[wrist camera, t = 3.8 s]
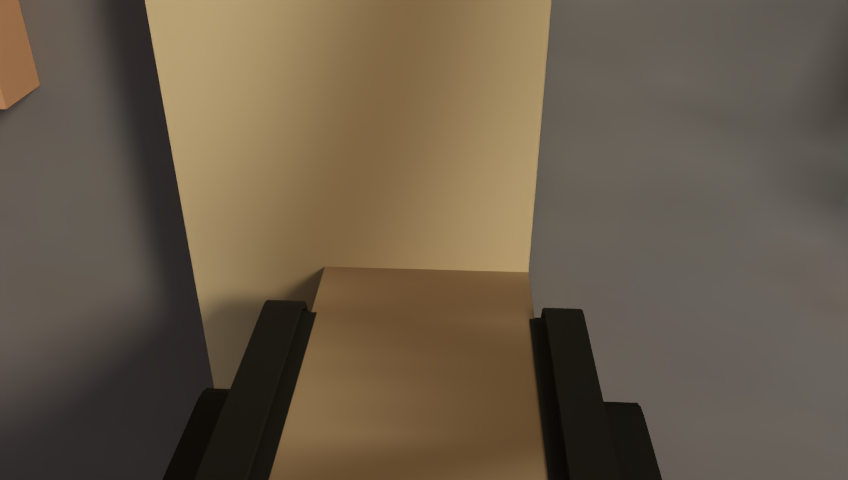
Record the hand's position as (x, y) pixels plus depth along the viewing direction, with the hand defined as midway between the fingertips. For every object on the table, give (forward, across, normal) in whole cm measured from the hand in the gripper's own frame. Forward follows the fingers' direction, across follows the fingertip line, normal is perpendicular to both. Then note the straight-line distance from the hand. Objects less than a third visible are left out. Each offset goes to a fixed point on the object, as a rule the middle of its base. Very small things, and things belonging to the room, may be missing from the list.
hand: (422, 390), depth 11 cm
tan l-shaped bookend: (+2, 0, 0) cm, 2 cm away
